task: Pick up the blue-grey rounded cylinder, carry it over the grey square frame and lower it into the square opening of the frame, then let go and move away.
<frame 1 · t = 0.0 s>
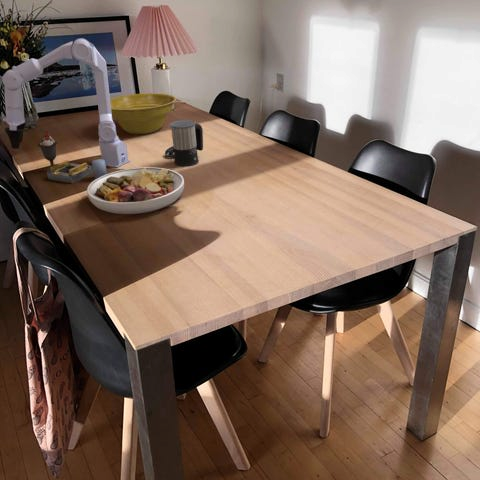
hand: (17, 145, 180), 11 cm above the table, tool pointing down, fingers open, 7 cm apart
milk frother: (181, 160, 192), on the table
planter bowl: (143, 130, 230), on the table
sundae: (53, 170, 187), on the table
blue-grey rounded cylinder: (101, 177, 178), on the table
bowl: (138, 198, 162), on the table
grey square frame: (71, 175, 181), on the table
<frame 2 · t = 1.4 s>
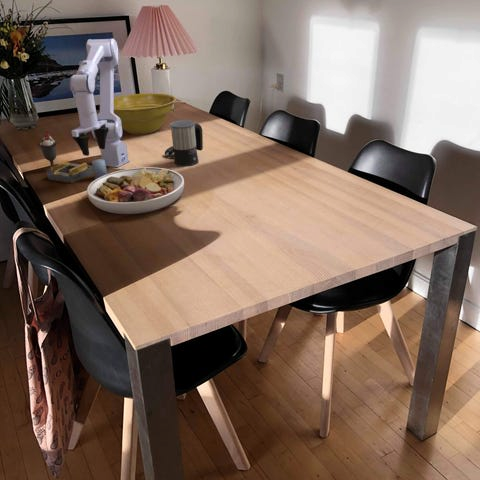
hand: (94, 151, 174), 9 cm above the table, tool pointing down, fingers open, 7 cm apart
nothing on the table moved.
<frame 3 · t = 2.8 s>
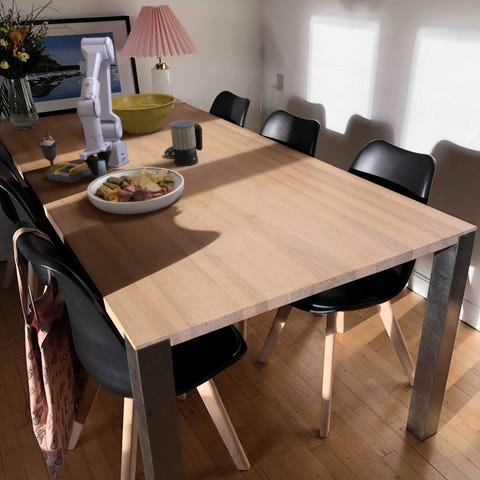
hand: (100, 173, 178), 2 cm above the table, tool pointing down, fingers closed on blue-grey rounded cylinder, 4 cm apart
blue-grey rounded cylinder: (101, 177, 178), on the table, touching gripper
everything else where it was.
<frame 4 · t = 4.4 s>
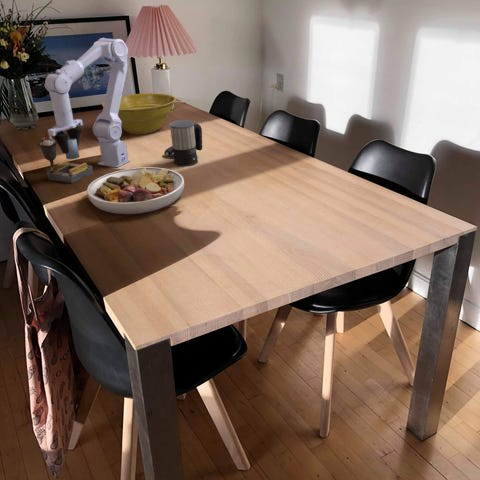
hand: (70, 150, 176), 9 cm above the table, tool pointing down, fingers closed on blue-grey rounded cylinder, 4 cm apart
blue-grey rounded cylinder: (72, 157, 177), point 7 cm above the table, touching gripper
everything else where it was.
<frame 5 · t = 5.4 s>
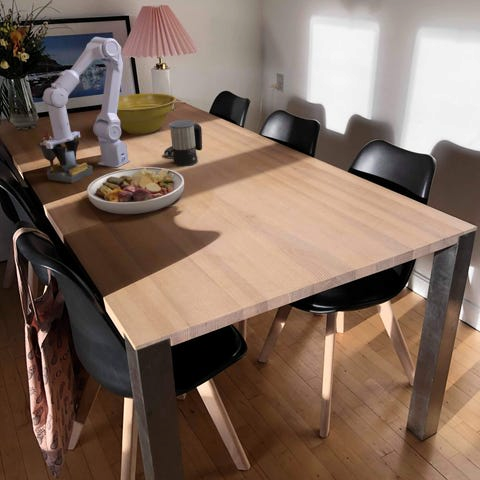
hand: (68, 162, 179), 5 cm above the table, tool pointing down, fingers closed on blue-grey rounded cylinder, 4 cm apart
blue-grey rounded cylinder: (70, 168, 179), point 3 cm above the table, touching gripper
everything else where it was.
when the fingers open (3 cm above the table, at t = 6.2 s): blue-grey rounded cylinder drops 1 cm, resting in grey square frame.
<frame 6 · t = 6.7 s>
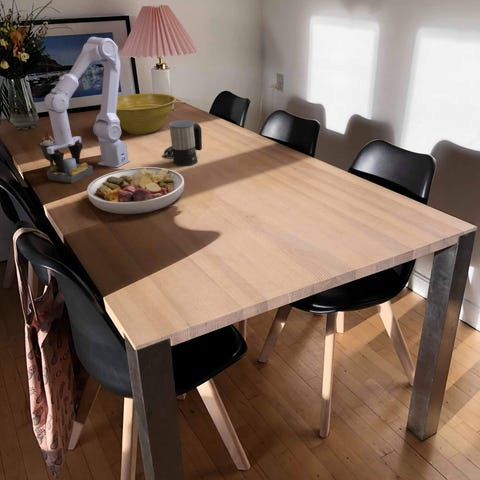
hand: (69, 167, 179), 3 cm above the table, tool pointing down, fingers open, 7 cm apart
blue-grey rounded cylinder: (71, 176, 181), resting in grey square frame
everything else where it was.
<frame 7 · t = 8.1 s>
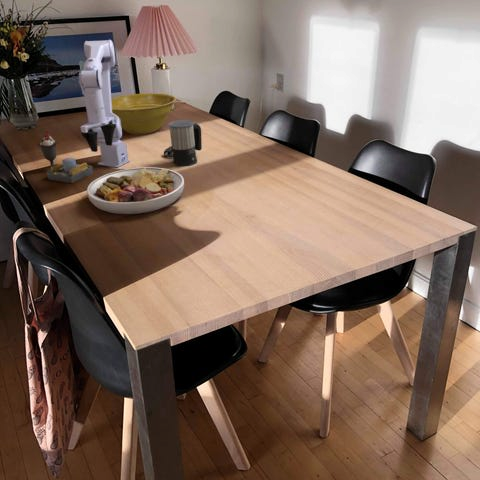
hand: (102, 148, 174), 10 cm above the table, tool pointing down, fingers open, 7 cm apart
nothing on the table moved.
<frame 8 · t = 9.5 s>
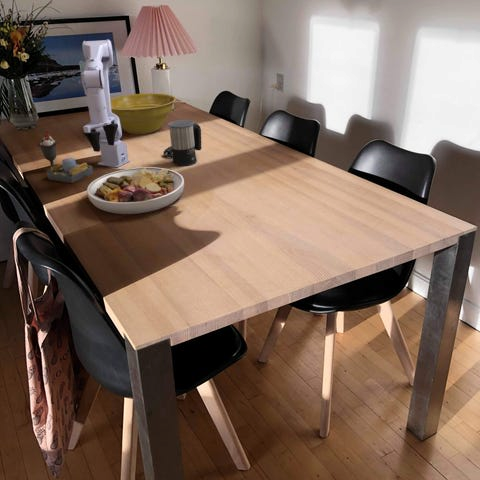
hand: (104, 148, 174), 10 cm above the table, tool pointing down, fingers open, 7 cm apart
nothing on the table moved.
at the end: blue-grey rounded cylinder 0.4 cm off-centre on the grey square frame, point 0.0 cm above the grey square frame's base; blue-grey rounded cylinder tilted 0°; the gripper is holding nothing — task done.
